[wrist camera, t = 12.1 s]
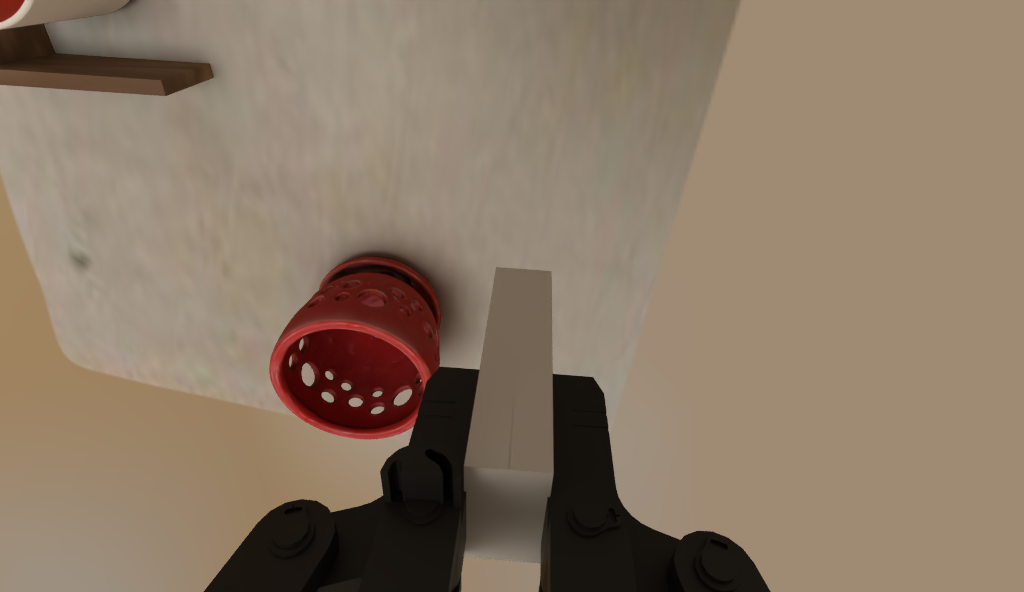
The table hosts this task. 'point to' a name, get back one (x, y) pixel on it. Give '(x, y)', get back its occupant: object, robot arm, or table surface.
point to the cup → (52, 10)
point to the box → (88, 68)
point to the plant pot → (361, 349)
